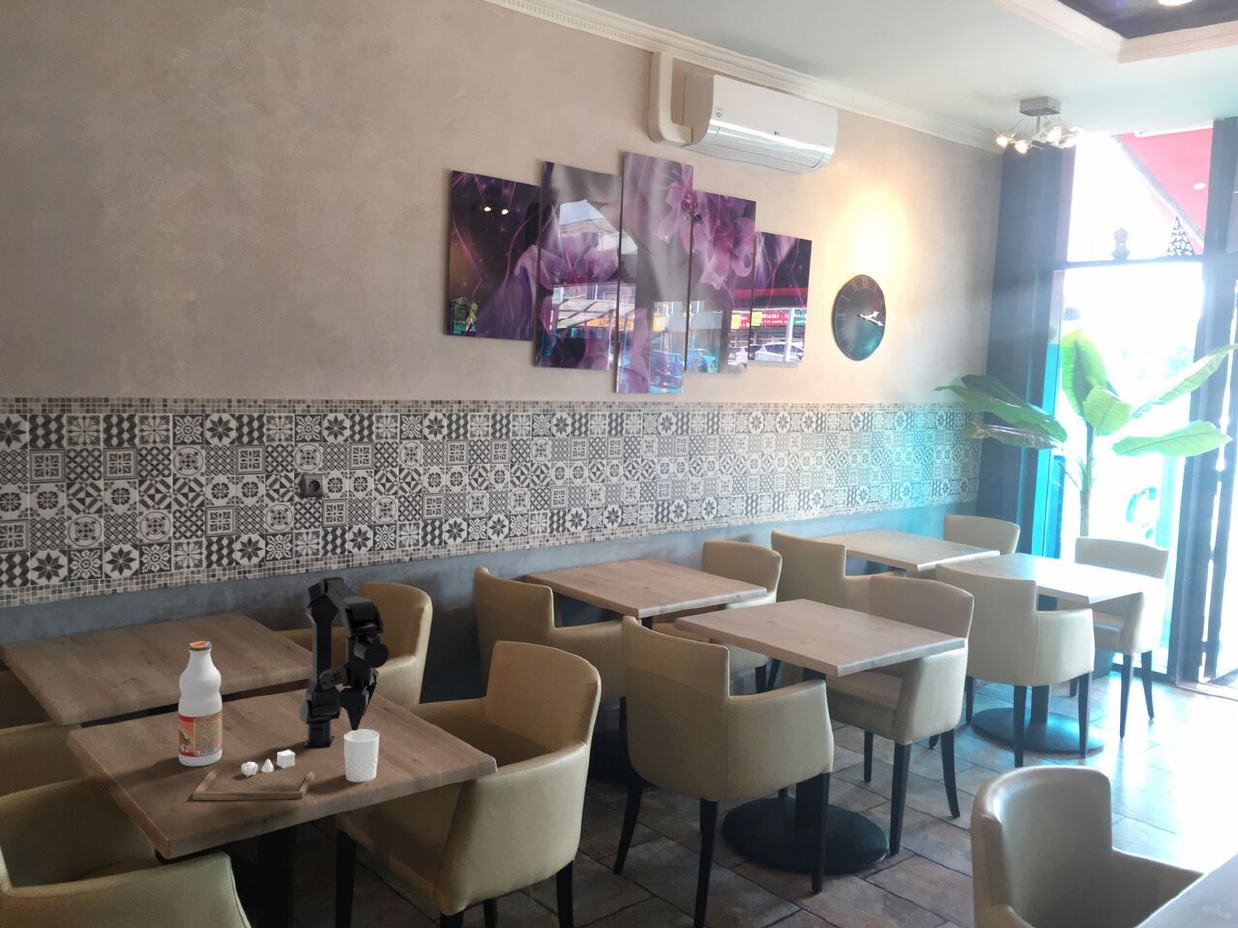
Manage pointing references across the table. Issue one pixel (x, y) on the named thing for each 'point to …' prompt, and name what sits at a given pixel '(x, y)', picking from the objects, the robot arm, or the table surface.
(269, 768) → the game pieces
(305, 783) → the rail corral
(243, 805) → the table surface
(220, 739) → the fruit juice
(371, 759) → the white cup
